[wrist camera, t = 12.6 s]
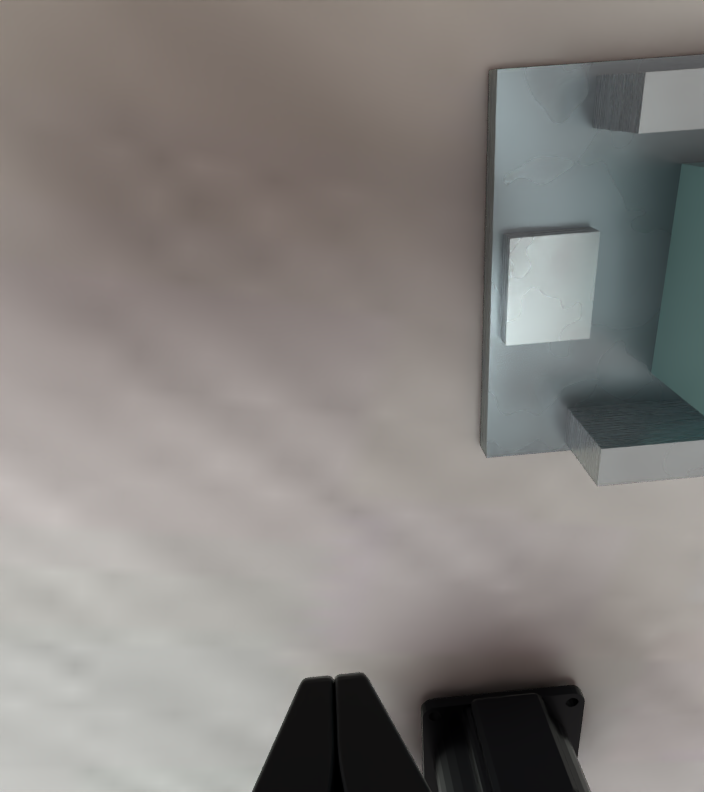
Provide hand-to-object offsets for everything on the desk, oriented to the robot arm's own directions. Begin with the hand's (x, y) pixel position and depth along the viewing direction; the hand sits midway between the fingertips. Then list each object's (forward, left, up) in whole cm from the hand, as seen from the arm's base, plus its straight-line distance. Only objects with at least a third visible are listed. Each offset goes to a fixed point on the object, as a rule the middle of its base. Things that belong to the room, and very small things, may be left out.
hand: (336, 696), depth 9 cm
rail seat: (+2, -12, -12) cm, 17 cm away
